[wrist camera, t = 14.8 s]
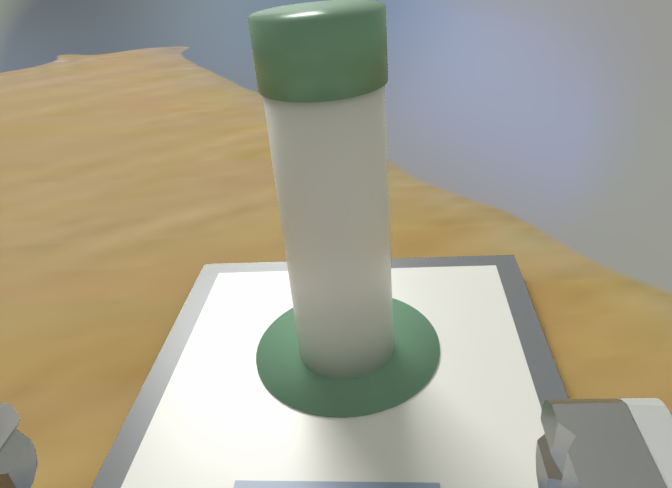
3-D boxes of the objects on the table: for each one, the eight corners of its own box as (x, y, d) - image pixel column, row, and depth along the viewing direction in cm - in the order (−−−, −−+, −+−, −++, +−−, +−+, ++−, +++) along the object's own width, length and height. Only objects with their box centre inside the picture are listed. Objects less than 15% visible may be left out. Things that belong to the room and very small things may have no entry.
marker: (290, 381, 20) (233, 27, 14) (303, 316, 23) (262, 5, 17) (397, 381, 20) (385, 16, 14) (395, 314, 23) (385, -4, 17)
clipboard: (-98, 912, 10) (-125, 897, 10) (207, 277, 28) (203, 260, 28) (775, 999, 9) (796, 986, 8) (512, 269, 27) (514, 251, 26)
